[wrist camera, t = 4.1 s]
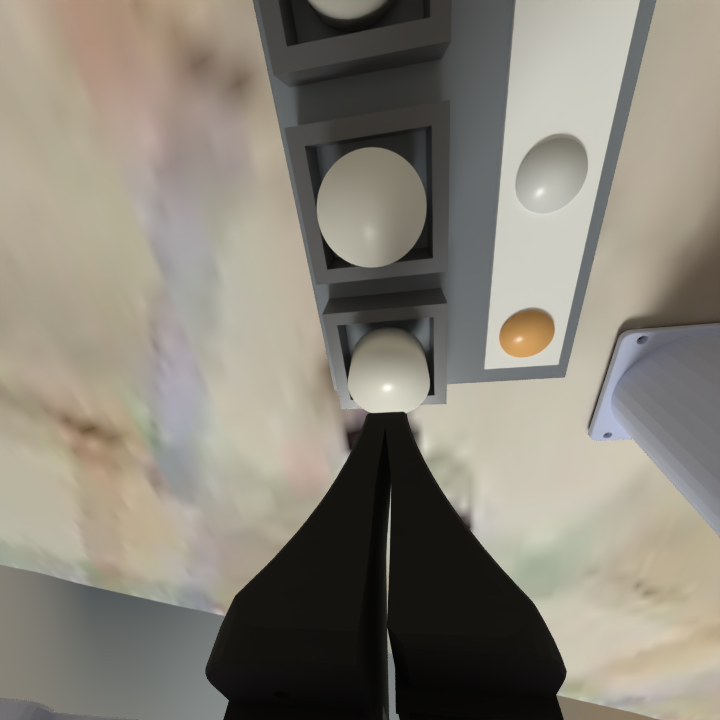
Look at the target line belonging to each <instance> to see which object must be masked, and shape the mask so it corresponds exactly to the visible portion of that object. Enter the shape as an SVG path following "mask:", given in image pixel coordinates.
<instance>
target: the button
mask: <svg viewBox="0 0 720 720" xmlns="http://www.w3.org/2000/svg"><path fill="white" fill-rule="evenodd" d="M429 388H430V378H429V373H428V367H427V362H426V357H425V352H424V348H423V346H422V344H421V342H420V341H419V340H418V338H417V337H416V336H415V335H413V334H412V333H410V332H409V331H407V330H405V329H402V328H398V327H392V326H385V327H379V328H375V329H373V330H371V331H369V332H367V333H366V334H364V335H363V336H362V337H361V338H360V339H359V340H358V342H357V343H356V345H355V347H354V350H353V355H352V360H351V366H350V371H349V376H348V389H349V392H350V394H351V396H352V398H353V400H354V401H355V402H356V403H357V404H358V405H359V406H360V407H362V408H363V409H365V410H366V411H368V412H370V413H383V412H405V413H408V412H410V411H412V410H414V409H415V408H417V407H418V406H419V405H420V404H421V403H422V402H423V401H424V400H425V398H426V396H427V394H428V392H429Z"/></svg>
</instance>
